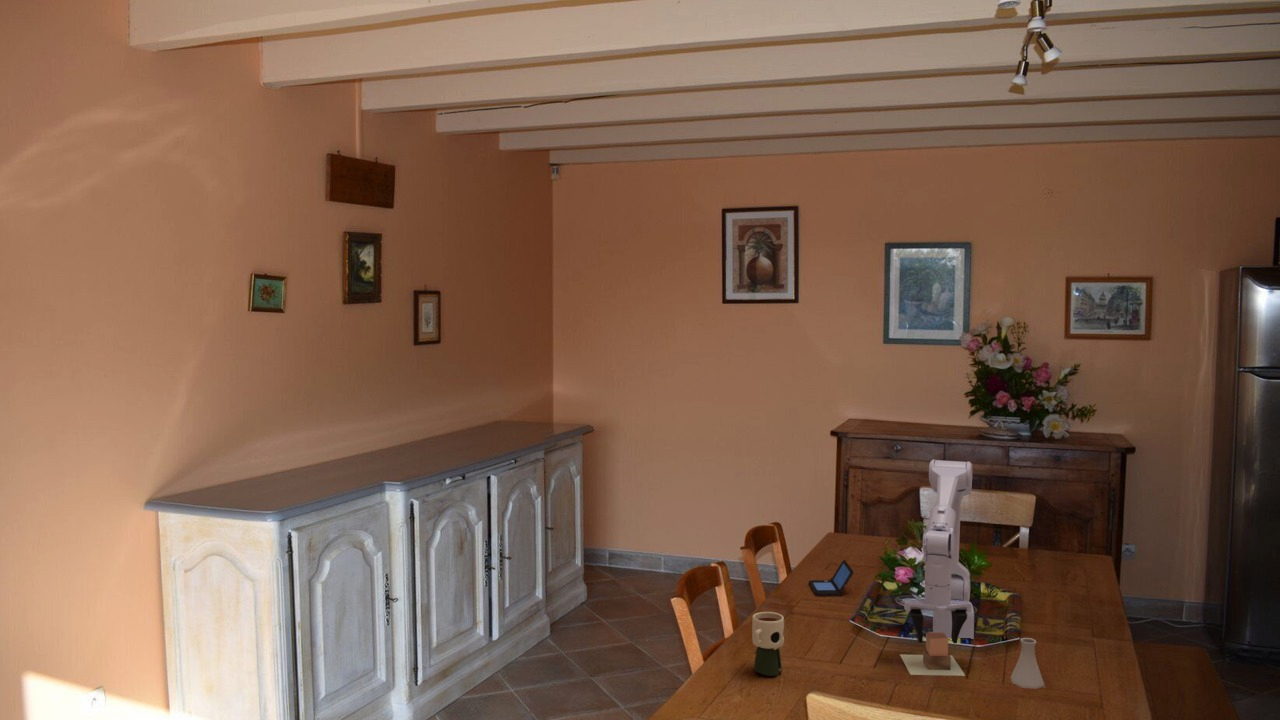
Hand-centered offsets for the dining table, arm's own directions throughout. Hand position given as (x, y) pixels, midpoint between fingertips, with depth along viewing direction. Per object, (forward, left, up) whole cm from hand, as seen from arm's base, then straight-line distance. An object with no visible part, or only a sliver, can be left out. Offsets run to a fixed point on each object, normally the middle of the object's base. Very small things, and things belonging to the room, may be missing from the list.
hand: (937, 641), depth 223 cm
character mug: (+38, +4, -6) cm, 39 cm away
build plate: (+1, 0, -6) cm, 6 cm away
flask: (-18, +8, -6) cm, 21 cm away
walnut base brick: (0, 0, -6) cm, 6 cm away
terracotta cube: (0, 0, -3) cm, 3 cm away
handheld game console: (+17, -58, -7) cm, 60 cm away
